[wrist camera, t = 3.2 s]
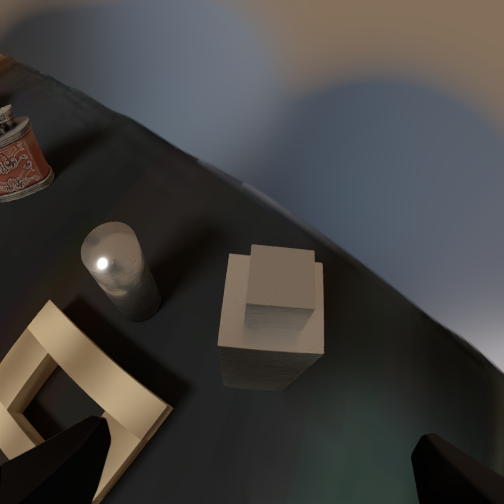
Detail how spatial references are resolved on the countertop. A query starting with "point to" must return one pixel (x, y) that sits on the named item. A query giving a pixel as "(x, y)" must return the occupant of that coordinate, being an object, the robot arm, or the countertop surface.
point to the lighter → (20, 158)
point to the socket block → (88, 378)
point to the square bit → (271, 317)
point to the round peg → (121, 270)
